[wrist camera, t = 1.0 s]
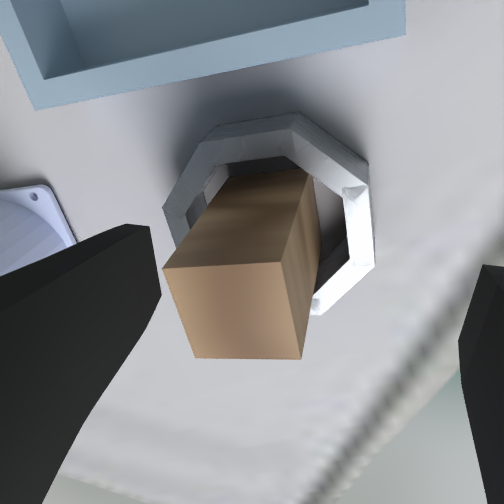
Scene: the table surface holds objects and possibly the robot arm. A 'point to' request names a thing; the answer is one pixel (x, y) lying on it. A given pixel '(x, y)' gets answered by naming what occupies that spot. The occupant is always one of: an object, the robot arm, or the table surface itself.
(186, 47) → the bin
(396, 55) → the table surface
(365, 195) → the collar
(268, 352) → the peg
